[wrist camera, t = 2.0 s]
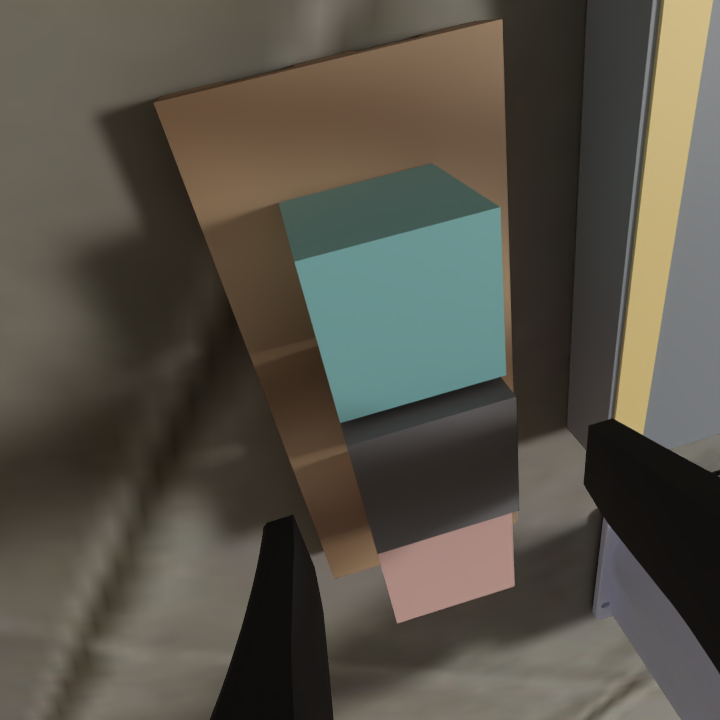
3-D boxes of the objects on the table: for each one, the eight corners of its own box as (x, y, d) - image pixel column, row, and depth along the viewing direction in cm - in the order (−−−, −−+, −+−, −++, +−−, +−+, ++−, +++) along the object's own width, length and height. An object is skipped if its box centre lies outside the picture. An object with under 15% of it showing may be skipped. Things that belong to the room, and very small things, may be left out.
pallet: (497, 487, 23) (576, 623, 18) (327, 539, 23) (356, 695, 17) (468, 21, 13) (630, 9, 8) (164, 94, 13) (112, 135, 7)
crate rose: (468, 495, 20) (514, 586, 17) (370, 525, 20) (397, 623, 16) (459, 418, 18) (511, 505, 14) (348, 451, 17) (376, 546, 14)
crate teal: (446, 301, 15) (506, 375, 12) (316, 337, 15) (340, 423, 12) (432, 163, 13) (500, 207, 10) (278, 202, 13) (294, 261, 9)
